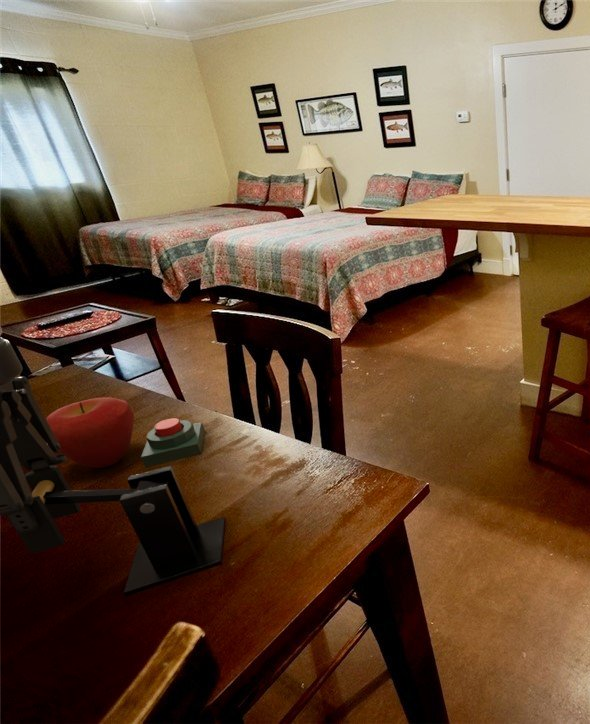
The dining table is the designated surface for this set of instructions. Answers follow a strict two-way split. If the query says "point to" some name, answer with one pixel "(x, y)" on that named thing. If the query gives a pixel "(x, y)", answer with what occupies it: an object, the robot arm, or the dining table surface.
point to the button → (168, 427)
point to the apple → (93, 431)
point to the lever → (87, 493)
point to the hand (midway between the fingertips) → (56, 529)
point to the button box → (174, 444)
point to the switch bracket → (168, 533)
